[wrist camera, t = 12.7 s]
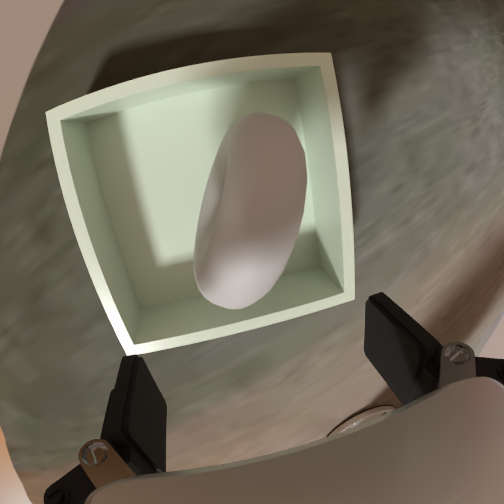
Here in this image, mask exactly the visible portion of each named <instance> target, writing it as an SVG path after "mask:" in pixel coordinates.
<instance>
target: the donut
mask: <svg viewBox="0 0 504 504" xmlns="http://www.w3.org/2000/svg"><path fill="white" fill-rule="evenodd" d="M306 188H307V167H306V156H305V152H304V149H303V147H302V145H301V142H300V140H299V138H298V136H297V133H296V131H295V129H294V128H293V127H292V126H291V125H290V124H289V123H288V122H287V121H285V120H283V119H281V118H279V117H277V116H274V115H271V114H267V113H260V112H258V113H252V114H248V115H246V116H244V117H242V118H240V119H239V120H238V121H237V122H236V123H235V124H234V125H233V126H232V127H231V128H230V129H229V130H228V131H227V133H226V135H225V136H224V138H223V140H222V142H221V145H220V147H219V149H218V152H217V154H216V157H215V159H214V162H213V165H212V168H211V171H210V174H209V178H208V181H207V185H206V188H205V192H204V196H203V200H202V204H201V209H200V214H199V219H198V224H197V231H196V238H195V248H194V276H195V279H196V283H197V286H198V289H199V291H200V292H201V293H202V295H203V296H204V298H206V299H207V300H208V301H210V302H211V303H213V304H215V305H218V306H221V307H224V308H227V309H242V308H245V307H247V306H250V305H252V304H253V303H255V302H256V301H258V300H259V299H261V298H262V297H263V296H264V295H266V294H267V293H268V292H269V291H270V290H271V289H272V287H273V286H274V284H275V283H276V281H277V280H278V278H279V277H280V276H281V274H282V273H283V271H284V268H285V266H286V264H287V262H288V259H289V257H290V255H291V252H292V250H293V248H294V245H295V243H296V240H297V237H298V233H299V229H300V225H301V221H302V217H303V213H304V207H305V198H306Z"/></svg>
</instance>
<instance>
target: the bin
mask: <svg viewBox="0 0 504 504" xmlns="http://www.w3.org/2000/svg"><path fill="white" fill-rule="evenodd" d="M258 112H260V113H267V114H271V115H274V116H277V117H279V118H281V119H283V120H285V121H287V122H288V123H289V124H290V125H291V126H292V127H293V128H294V129H295V131H296V133H297V136H298V138H299V140H300V142H301V145H302V147H303V149H304V152H305V156H306V167H307V188H306V198H305V207H304V213H303V217H302V221H301V225H300V229H299V233H298V237H297V240H296V243H295V245H294V248H293V250H292V252H291V255H290V257H289V259H288V262H287V264H286V266H285V268H284V271H283V273H282V274H281V276H280V277H279V278H278V280H277V281H276V283H275V284H274V286H273V287H272V289H271V290H270V291H269V292H268V293H267V294H266V295H264V296H263V297H262V298H261V299H259V300H258V301H256V302H255V303H253V304H252V305H250V306H247V307H245V308H242V309H227V308H224V307H221V306H218V305H215V304H213V303H211V302H210V301H208V300H207V299H206V298H204V296H203V295H202V293H201V292H200V291H199V289H198V286H197V283H196V279H195V276H194V248H195V238H196V231H197V224H198V219H199V214H200V209H201V204H202V200H203V196H204V192H205V188H206V185H207V181H208V178H209V174H210V171H211V168H212V165H213V162H214V159H215V157H216V154H217V152H218V149H219V147H220V145H221V142H222V140H223V138H224V136H225V135H226V133H227V131H228V130H229V129H230V128H231V127H232V126H233V125H234V124H235V123H236V122H237V121H238V120H239V119H240V118H242V117H244V116H246V115H248V114H252V113H258ZM46 118H47V124H48V130H49V135H50V141H51V146H52V151H53V155H54V160H55V164H56V169H57V173H58V177H59V181H60V185H61V188H62V192H63V196H64V199H65V203H66V206H67V210H68V213H69V216H70V220H71V223H72V226H73V229H74V232H75V235H76V238H77V241H78V244H79V247H80V249H81V252H82V255H83V258H84V260H85V263H86V266H87V268H88V271H89V273H90V276H91V278H92V281H93V283H94V286H95V288H96V291H97V293H98V295H99V298H100V300H101V302H102V304H103V307H104V309H105V311H106V313H107V315H108V318H109V320H110V322H111V324H112V326H113V328H114V330H115V332H116V334H117V336H118V338H119V340H120V342H121V344H122V346H123V348H124V350H125V352H126V354H127V356H128V355H134V354H136V355H137V354H142V353H148V352H153V351H158V350H163V349H168V348H173V347H178V346H183V345H188V344H192V343H197V342H201V341H206V340H210V339H214V338H219V337H223V336H227V335H231V334H235V333H239V332H243V331H247V330H251V329H255V328H259V327H263V326H267V325H270V324H274V323H278V322H281V321H285V320H288V319H292V318H295V317H299V316H302V315H306V314H309V313H312V312H316V311H319V310H322V309H326V308H329V307H332V306H335V305H339V304H342V303H345V302H348V301H351V300H354V299H355V276H354V238H353V218H352V202H351V189H350V178H349V167H348V158H347V149H346V141H345V133H344V125H343V118H342V112H341V105H340V99H339V93H338V87H337V81H336V76H335V71H334V65H333V60H332V56H331V53H288V54H272V55H260V56H249V57H241V58H233V59H226V60H219V61H213V62H207V63H201V64H196V65H190V66H185V67H181V68H176V69H172V70H167V71H163V72H159V73H155V74H151V75H147V76H144V77H140V78H136V79H133V80H130V81H126V82H123V83H120V84H117V85H114V86H111V87H108V88H105V89H102V90H99V91H96V92H93V93H91V94H88V95H85V96H83V97H80V98H77V99H75V100H72V101H70V102H68V103H65V104H63V105H61V106H58V107H56V108H54V109H51V110H49V111H47V112H46Z"/></svg>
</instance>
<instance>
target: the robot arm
mask: <svg viewBox="0 0 504 504" xmlns="http://www.w3.org/2000/svg"><path fill="white" fill-rule="evenodd" d="M364 352H365V355H366V357H367V358H368V359H369V361H370V362H371V363H372V364H373V366H374V367H375V368H376V370H377V371H378V372H379V374H380V375H381V376H382V377H383V379H384V380H385V381H386V383H387V384H388V385H389V387H390V388H391V389H392V391H393V392H394V393H395V395H396V396H397V397H398V399H399V400H400V401H401V403H402V404H403V405H404V406H402V407H400V408H397V409H395V408H394V407H391V406H381V407H376V408H373V409H370V410H367V411H365V412H363V413H360V414H359V415H357V416H355V417H353V418H351V419H349V420H348V421H346V422H345V423H343V424H342V425H340V426H339V427H338V428H337V429H335V430H334V431H333V432H332V433H331V434H330V435H329V436H328V437H326V438H323V439H320V440H317V441H314V442H311V443H308V444H305V445H301V446H298V447H294V448H291V449H287V450H284V451H280V452H276V453H272V454H268V455H264V456H260V457H256V458H251V459H247V460H242V461H237V462H232V463H227V464H221V465H215V466H209V467H202V468H195V469H188V470H180V471H171V472H166V418H167V406H166V402H165V400H164V398H163V396H162V394H161V392H160V391H159V389H158V387H157V385H156V383H155V381H154V379H153V377H152V375H151V373H150V371H149V369H148V368H147V366H146V363H145V361H144V359H143V358H142V357H138V356H137V355H136V354H134V355H128V356H123V357H122V360H121V364H120V368H119V372H118V376H117V380H116V384H115V388H114V389H113V390H112V391H111V393H110V397H109V401H108V405H107V410H106V414H105V418H104V423H103V428H102V433H101V437H100V439H92V440H89V441H87V442H86V443H85V444H84V445H82V447H81V448H80V450H79V453H78V460H79V463H80V464H79V465H78V466H76V467H75V468H74V469H72V470H71V471H70V472H68V473H67V474H66V475H64V476H63V477H62V478H60V479H59V480H58V481H56V482H55V483H53V484H52V485H51V486H50V487H49V488H48V489H47V490H46V492H45V494H44V504H504V359H495V358H494V359H493V358H483V357H475V355H474V351H473V350H472V348H471V347H470V346H468V345H467V344H464V343H460V342H452V343H449V344H447V345H446V346H444V347H443V346H442V345H441V344H440V342H438V341H437V340H436V339H435V338H434V337H433V336H432V335H431V334H430V333H429V332H427V331H426V330H425V329H424V328H423V327H422V326H421V325H420V324H419V323H417V322H416V321H415V320H414V319H413V318H412V317H411V316H410V315H408V314H407V313H406V312H405V311H404V310H403V309H402V308H400V307H399V306H398V305H397V304H396V303H395V302H393V301H392V300H391V299H390V298H389V297H388V296H386V295H385V294H384V293H383V292H380V293H377V294H374V295H371V296H369V299H368V300H367V301H366V306H365V338H364Z"/></svg>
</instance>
